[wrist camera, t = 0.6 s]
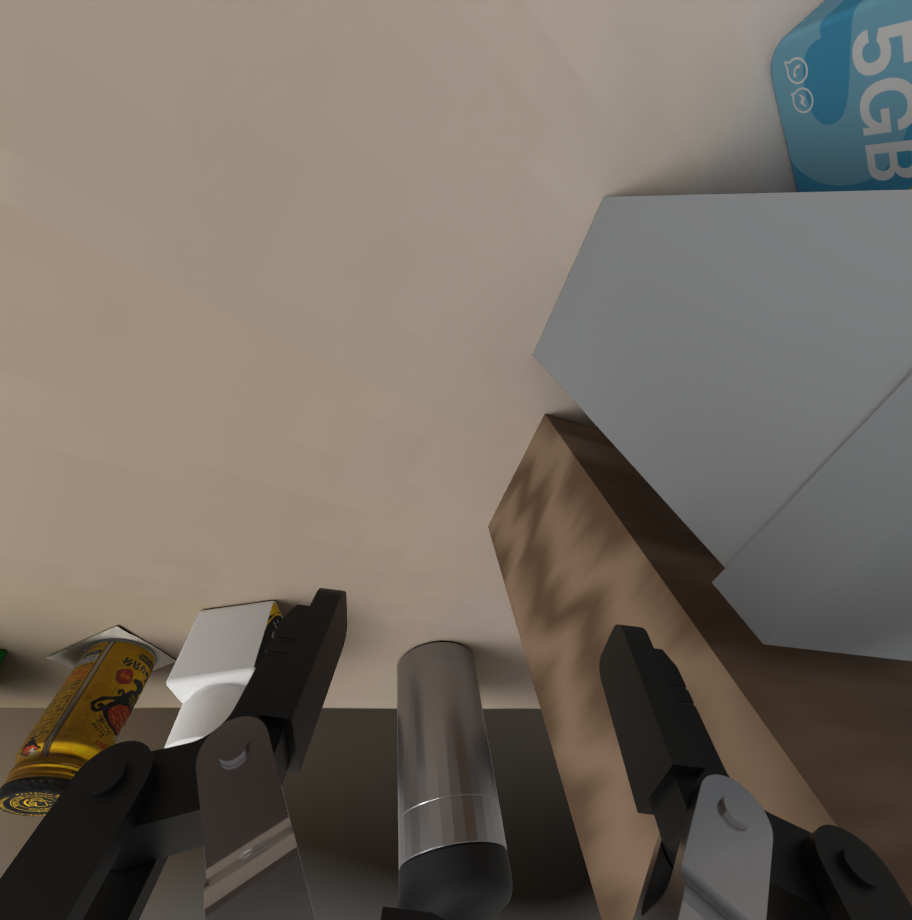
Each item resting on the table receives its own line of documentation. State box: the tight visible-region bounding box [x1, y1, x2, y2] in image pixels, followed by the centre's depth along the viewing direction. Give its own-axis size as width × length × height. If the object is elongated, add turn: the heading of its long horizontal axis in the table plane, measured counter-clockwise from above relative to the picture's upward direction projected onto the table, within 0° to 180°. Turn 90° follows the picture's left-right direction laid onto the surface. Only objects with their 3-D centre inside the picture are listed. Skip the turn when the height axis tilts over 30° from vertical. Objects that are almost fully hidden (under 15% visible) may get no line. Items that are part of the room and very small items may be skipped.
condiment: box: [0, 626, 176, 816], centre depth 35 cm, size 7×8×12 cm
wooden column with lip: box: [488, 414, 912, 920], centre depth 23 cm, size 13×16×32 cm
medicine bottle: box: [164, 601, 283, 748], centre depth 35 cm, size 7×7×12 cm
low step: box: [533, 190, 912, 661], centre depth 20 cm, size 11×20×22 cm, turn 71°
